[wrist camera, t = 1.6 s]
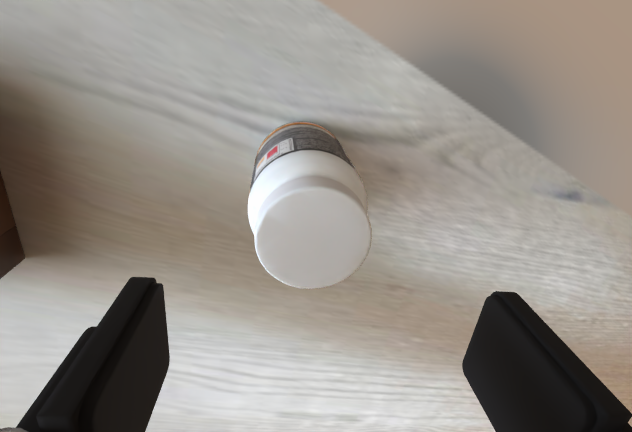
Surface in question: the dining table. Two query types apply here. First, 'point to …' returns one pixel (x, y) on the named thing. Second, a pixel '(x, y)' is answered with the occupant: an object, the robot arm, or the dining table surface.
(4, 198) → the holder
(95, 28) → the dining table surface
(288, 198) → the pill bottle
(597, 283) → the dining table surface
